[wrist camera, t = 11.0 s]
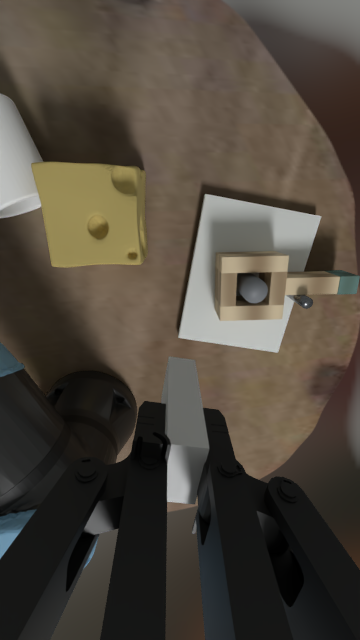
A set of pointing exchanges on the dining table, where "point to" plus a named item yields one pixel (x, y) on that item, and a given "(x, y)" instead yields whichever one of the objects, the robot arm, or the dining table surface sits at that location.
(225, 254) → the wooden frame with handle
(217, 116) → the dining table surface
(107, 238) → the cheese
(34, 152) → the mug
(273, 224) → the base
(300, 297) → the dowel
